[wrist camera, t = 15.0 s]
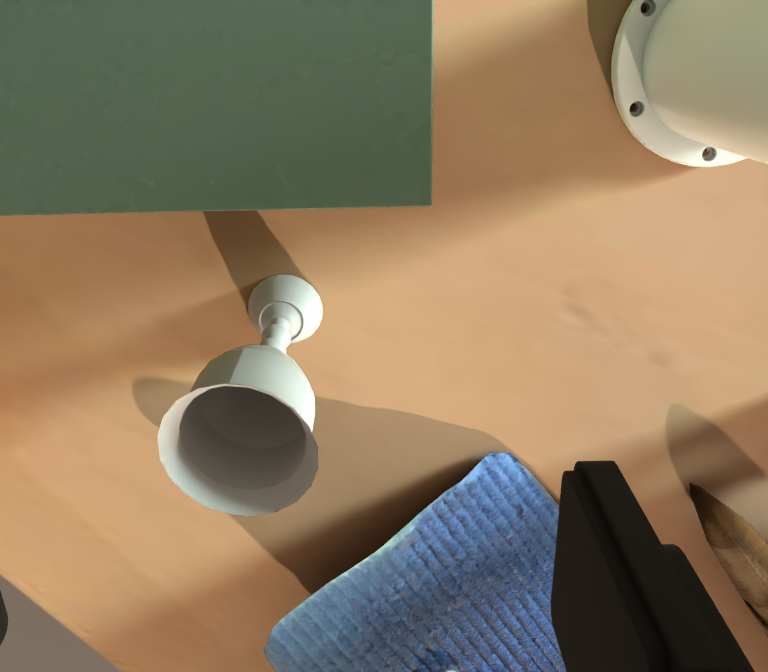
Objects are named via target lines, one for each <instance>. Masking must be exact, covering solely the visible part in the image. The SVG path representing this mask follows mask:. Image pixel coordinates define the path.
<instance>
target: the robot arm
mask: <svg viewBox="0 0 768 672" xmlns="http://www.w3.org/2000/svg"><path fill="white" fill-rule="evenodd" d="M643 3H644V4H646V5H647V10H646V11H645V12H644V13H642V12H641V5H642V4H643ZM611 83H612V88H613V94H614V99H615V103H616V105H617V108H618V110H619V113H620V116H621V118H622V120H623V121H624V123H625V125H626V126H627V128H628V129H629V131H630V132H631V134H632V135H633V136H634V137H635V138H636V139H637V140H638V141H639V142H640V143H641V144H642V145H643V146H644V147H646V148H647V149H649V150H651V151H652V152H654V153H655V154H657V155H659V156H660V157H663V158H665V159H668V160H670V161H672V162H675V163H680V164H684V165H688V166H694V167H714V166H720V165H726V164H731V163H734V162H737V161H740V160H743V159H746V158H750V159H753V160H756V161H759V162H762V163H765V164H768V0H632V2H631V4H630V6H629V7H628V9H627V11H626V13H625V14H624V16H623V19H622V21H621V24H620V27H619V30H618V32H617V35H616V38H615V43H614V48H613V54H612V59H611ZM631 104H635V105H636V108H635V110H634V111H633V112H630V110H629V109H630V106H631ZM705 149H706V151H707V152H706V154H705V155H704V156H702V153H703V150H705ZM551 619H552V624H553V628H554V632H555V635H556V638H557V642H558V645H559V648H560V652H561V655H562V658H563V662H564V665H565V668H566V672H755V671H754V670H753V668H752V666H751V665H750V663H749V661H748V660H747V658H746V656H745V655H744V653H743V651H742V650H741V648H740V646H739V645H738V643H737V641H736V640H735V638H734V636H733V634H732V633H731V631H730V629H729V628H728V626H727V624H726V623H725V621H724V619H723V618H722V616H721V614H720V613H719V611H718V609H717V608H716V606H715V604H714V603H713V601H712V599H711V598H710V596H709V594H708V593H707V591H706V589H705V587H704V586H703V584H702V582H701V581H700V579H699V577H698V576H697V574H696V572H695V571H694V569H693V567H692V566H691V564H690V562H689V561H688V559H687V557H686V556H685V554H684V553H683V551H682V550H681V549H680V548H679V547H678V546H676V545H674V544H668V545H662V544H661V542H660V541H659V539H658V537H657V535H656V534H655V532H654V530H653V528H652V526H651V525H650V523H649V521H648V519H647V517H646V516H645V514H644V512H643V510H642V509H641V507H640V505H639V503H638V501H637V500H636V498H635V496H634V494H633V493H632V491H631V489H630V487H629V485H628V484H627V482H626V480H625V478H624V477H623V475H622V473H621V471H620V469H619V468H618V466H617V464H616V463H615V462H614V461H578V462H577V463H576V464H575V467H574V471H565V472H564V473H563V476H562V485H561V495H560V506H559V517H558V528H557V539H556V549H555V560H554V571H553V582H552V592H551ZM7 626H8V616H7V612H6V608H5V605H4V601H3V599H2V595H1V591H0V645H1V643H2V641H3V639H4V637H5V635H6V631H7Z"/></svg>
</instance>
